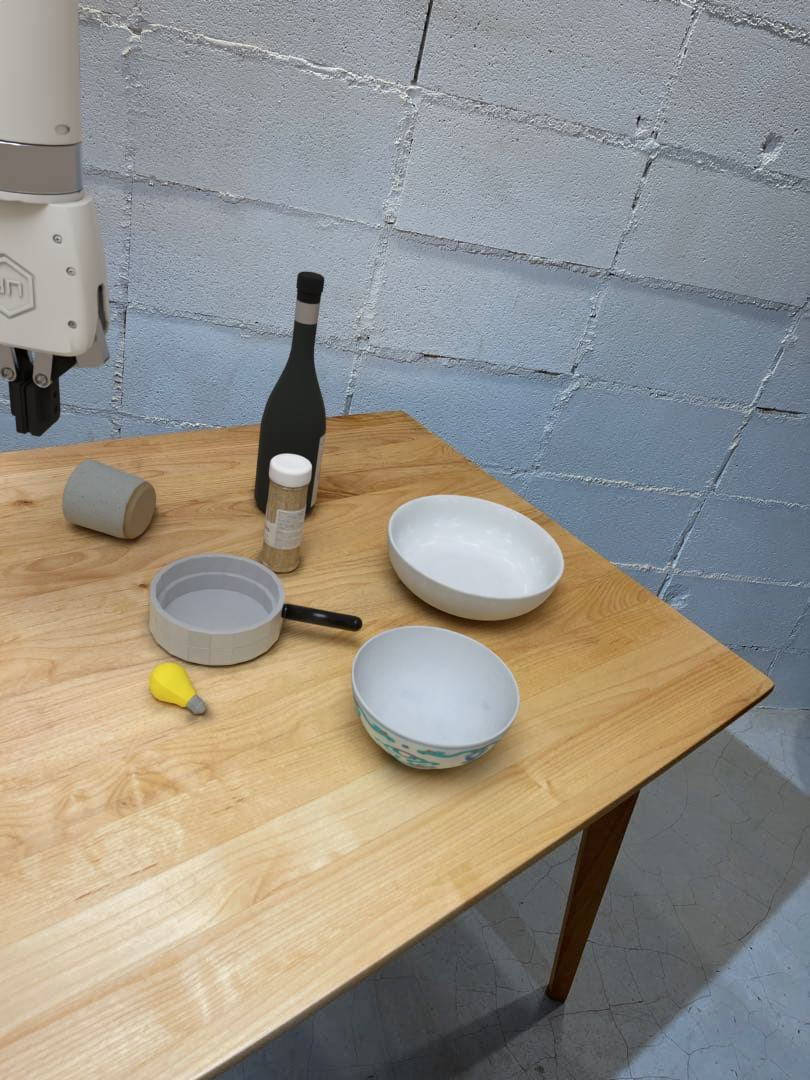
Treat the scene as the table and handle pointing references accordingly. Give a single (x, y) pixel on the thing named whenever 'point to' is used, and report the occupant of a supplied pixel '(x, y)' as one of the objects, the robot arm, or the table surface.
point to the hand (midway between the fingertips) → (37, 427)
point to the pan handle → (321, 617)
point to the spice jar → (285, 511)
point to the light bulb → (175, 687)
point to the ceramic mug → (108, 500)
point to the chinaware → (432, 695)
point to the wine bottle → (295, 399)
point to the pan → (216, 608)
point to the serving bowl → (473, 556)
